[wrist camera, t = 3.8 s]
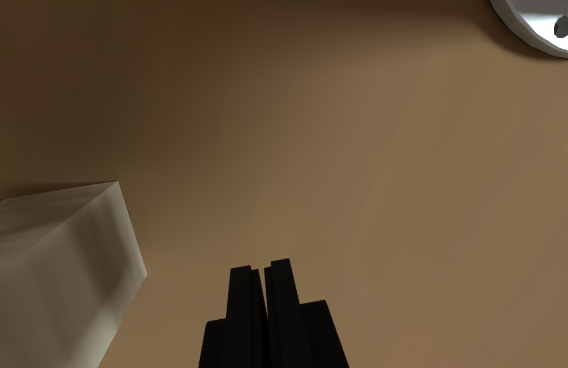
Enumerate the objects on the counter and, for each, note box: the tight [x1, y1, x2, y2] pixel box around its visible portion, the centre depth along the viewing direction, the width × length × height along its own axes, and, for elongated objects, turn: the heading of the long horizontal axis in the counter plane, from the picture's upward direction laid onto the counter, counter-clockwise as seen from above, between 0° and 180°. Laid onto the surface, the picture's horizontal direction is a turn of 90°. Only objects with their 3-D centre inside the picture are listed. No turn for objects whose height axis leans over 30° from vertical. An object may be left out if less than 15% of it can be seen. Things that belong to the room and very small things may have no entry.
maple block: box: [0, 181, 147, 368], centre depth 11 cm, size 5×5×10 cm
